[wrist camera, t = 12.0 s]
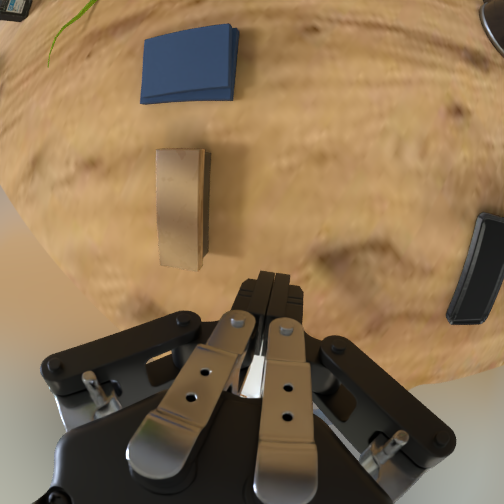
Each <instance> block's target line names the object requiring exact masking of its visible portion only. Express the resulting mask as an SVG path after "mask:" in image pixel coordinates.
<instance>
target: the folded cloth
mask: <svg viewBox="0 0 504 504" xmlns="http://www.w3.org/2000/svg"><path fill="white" fill-rule="evenodd" d="M238 41H239V31H238V29H237V28H232V26H231V25H230V24H220V25H213V26H206V27H200V28H194V29H188V30H183V31H179V32H174V33H169V34H165V35H161V36H157V37H153V38H150V39H146V40H145V43H144V55H143V72H142V86H141V98H140V104H145V105H147V104H157V103H169V102H185V101H233V97H234V85H235V73H236V62H237V52H238Z"/></svg>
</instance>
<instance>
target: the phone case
mask: <svg viewBox="0 0 504 504" xmlns="http://www.w3.org/2000/svg"><path fill="white" fill-rule="evenodd" d="M262 345H263V342H262ZM261 352H262V347H261V351H260V355H259V356H257V355H254V358H253V361H252V363H251V368H250V371H249V373H248V376H247V379H246V381H245V384H244V387H243V389H242V392H241V394H243V395H245V396H248V397H247V398H259V396H260V387H261V378H262V370H263V363H264V356H261ZM240 397H242V396H240ZM243 398H244V397H243Z"/></svg>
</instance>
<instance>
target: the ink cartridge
mask: <svg viewBox="0 0 504 504" xmlns="http://www.w3.org/2000/svg"><path fill="white" fill-rule="evenodd" d="M31 3H32V0H0V20H5V21H15V22H21V21H23V20H24V19H25V18H26V17H27V15H28V12H29V9H30V6H31Z"/></svg>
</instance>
